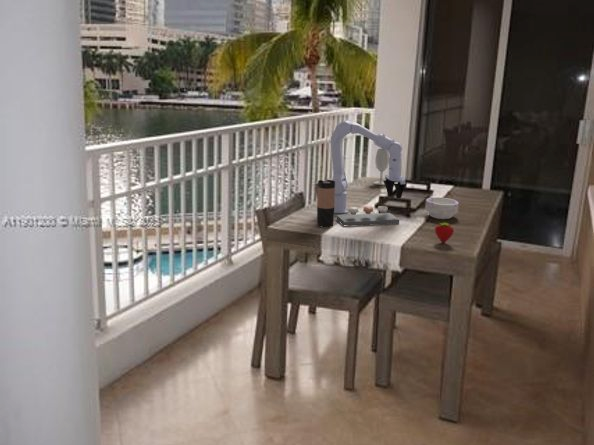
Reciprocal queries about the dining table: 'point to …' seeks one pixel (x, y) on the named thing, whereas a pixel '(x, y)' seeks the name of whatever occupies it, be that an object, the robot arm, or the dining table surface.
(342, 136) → the robot arm
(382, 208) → the outer button
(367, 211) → the middle button
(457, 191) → the dining table surface
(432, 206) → the paper bowls
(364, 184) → the dining table surface
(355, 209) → the inner button
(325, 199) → the travel mug
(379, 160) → the wineglass
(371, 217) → the grey flat board
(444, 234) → the strawberry
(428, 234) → the dining table surface
